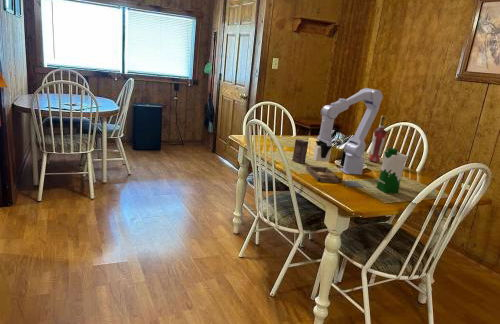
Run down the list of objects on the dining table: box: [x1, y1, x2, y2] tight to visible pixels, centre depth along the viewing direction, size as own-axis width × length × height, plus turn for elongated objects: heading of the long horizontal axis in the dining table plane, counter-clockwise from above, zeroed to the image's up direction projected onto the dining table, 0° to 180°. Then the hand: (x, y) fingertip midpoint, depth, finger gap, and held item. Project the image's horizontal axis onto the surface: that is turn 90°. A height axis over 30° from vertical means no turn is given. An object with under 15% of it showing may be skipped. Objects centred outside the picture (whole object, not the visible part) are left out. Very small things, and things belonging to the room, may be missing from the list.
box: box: [292, 138, 309, 164], centre depth 199 cm, size 6×4×12 cm
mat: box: [340, 180, 364, 188], centre depth 172 cm, size 8×7×1 cm
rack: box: [305, 165, 342, 184], centre depth 180 cm, size 11×18×2 cm, turn 10°
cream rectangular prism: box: [312, 144, 332, 163], centre depth 182 cm, size 7×4×7 cm, turn 100°
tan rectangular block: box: [316, 171, 337, 178], centre depth 175 cm, size 8×4×3 cm, turn 99°
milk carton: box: [375, 147, 409, 194], centre depth 167 cm, size 9×9×20 cm
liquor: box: [368, 115, 387, 163], centre depth 219 cm, size 7×7×28 cm
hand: (321, 156), depth 182 cm, fingers closed on cream rectangular prism, 4 cm apart
